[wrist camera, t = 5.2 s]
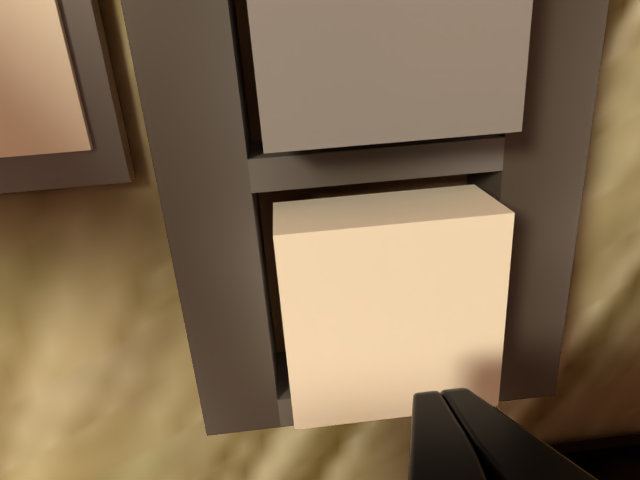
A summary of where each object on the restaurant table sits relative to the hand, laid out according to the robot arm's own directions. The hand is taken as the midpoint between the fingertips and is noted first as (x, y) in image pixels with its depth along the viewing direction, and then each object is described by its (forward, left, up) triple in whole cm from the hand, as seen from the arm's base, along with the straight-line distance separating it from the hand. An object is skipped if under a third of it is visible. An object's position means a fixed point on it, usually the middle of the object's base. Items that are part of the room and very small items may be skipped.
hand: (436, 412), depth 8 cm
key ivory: (0, 0, -4) cm, 4 cm away
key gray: (0, -6, -4) cm, 7 cm away
